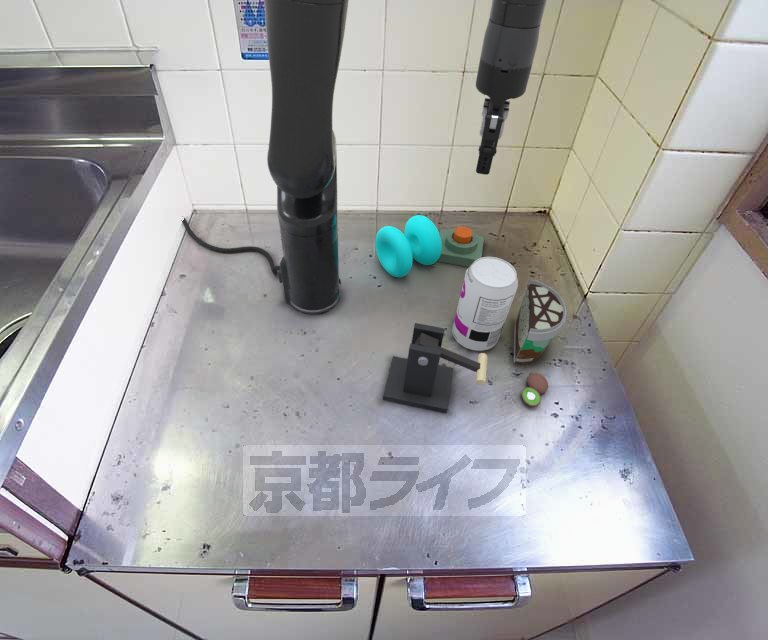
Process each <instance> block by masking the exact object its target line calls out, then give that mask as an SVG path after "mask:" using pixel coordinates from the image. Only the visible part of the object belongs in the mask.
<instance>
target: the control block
mask: <svg viewBox="0 0 768 640" xmlns="http://www.w3.org/2000/svg"><path fill="white" fill-rule="evenodd" d="M456 228H457V227H454V228H451V229H449V230H448V229H441V230H440V233H439V234H440V237H441V242H442V251H441V255H440V257H439V259H438V260H437V261H436V262H439V263H445V264H451V265H456V266H462V267H467V268H469V267H470V266H471V265H472V264H473V263H474V261H475V260H477V259H479V258H482V257H483V248H484V238H485V236H483V235H477V233H476V232H474V231H473V230H471V231H472V237H471V241H470V243H468V244H460V243H457V242H456V241H454V239H453V236H454V231H455V229H456Z"/></svg>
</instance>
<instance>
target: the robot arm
mask: <svg viewBox="0 0 768 640" xmlns="http://www.w3.org/2000/svg"><path fill="white" fill-rule="evenodd" d="M547 1H548V0H492V1H491V6H490V12H489V18H488V21H487V25H486V28H485V31H484V35H483V36H484V37H483V40H482V46H481V51H480V57H479V63H478V69H477V75H476V79H475V88H476V90H477V91H478V92H479V93H480V94H482V95H484V96H487V97H484V102H483V107H482V111H481V118H482V120H481V125H480V129H479V136H480V138H481V141H480V145H479V146H478V159H477V163H476V167H475V172H476V173H477V174H479V175H485V176H486V175H490V172H491V168H492V163H493V159H494V157H495V156H496V154H497V151H498V149H497V148H498V143H499V140H500V139H501V138H502V136H503V132H504V127H505V122H506V121H507V119H508V117H509V113H510V112H509V111H510V106H511V105H510V104H511V101H510V100H514V99H518V98H520V97H522V96H523V95H525V93H526V91H527V88H528V83H529V78H530V75H531V71H532V68H533V63H534V60H535V59H534V58H535V55H536V51H537V48H538V44H539V38H540V37H539V36H540V31H541V25H542V22H543V21H542V20H543V16H544V12H545V9H546V5H547ZM263 4H264V18H265V19H264V21H265V32H266V33H265V35H266V44H267V54H268V63H269V71H270V81H271V115H270V130H269V141H268V149H267V155H266V163H267V168H268V172H269V175H270V176H271V178H272V179H271V180H272V181H273V182H274V184H275V185H276V213H277V218H278V225H279V232H280V233H279V234H280V239H281V248H282V255H283V256H282V258H281V259H280V262H279V265H275V263H274V260H273V258H272V256H271V255H270V253H269V252H268V251H266V249H264V248H261V247H258V246H238V247H232V248H231V247H230V248H229V247H228V248H225V247H218V246H215V245H212V244H210V243H207V242H206V241H204V240H202V239H201V238H199V237H198V236H197V235H196V234H195V233H194V232H193V230H192V228H191V227H190V225H189V223H188V221H187V219H186V218H185V217H184V220H183V222H182V224H183V226H184V228H185V230H186V231H187V233H188V235H189V236H190V237H191V238H192V239H193V240H194V241H196V242H197V243H199V244H200V245H201V246H203V247H204V248H206V249H209V250H212V251H214V252H220V253H238V252H247V251H249V252H250V251H252V252H258V253H261V254H263V255H264V256H265V258H266V259H267V261H268V263H269V266H270V269H271V272H272V273H273V274H274V275H276V274H278V275H277V276H278V280H279V284H282V290H283V295H284V296H283V297H284V302H285V304H289V305H290V306H292V308H293V309H295V310H296V311H298V312H300V313H304V314H305V315H306V314H307V315H318V314H323V313H326V312H329V311H330V310H332V309H333V308H334V307H336V305H337V304H339V301H340V299H341V291H340V286H342V280H341V278H340V268H339V264H340V261H339V227H338V225H339V224H338V164H337V163H338V159H337V158H338V157H337V155H338V154H337V151H338V150H337V140H336V135H335V132H334V129H333V111H334V110H333V109H334V107H333V106H334V94H335V88H336V83H337V78H338V72H339V67H340V61H341V56H342V51H343V45H344V38H345V31H346V26H347V25H346V24H347V17H348V9H349V0H263Z"/></svg>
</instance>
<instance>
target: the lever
mask: <svg viewBox="0 0 768 640" xmlns="http://www.w3.org/2000/svg"><path fill="white" fill-rule="evenodd" d="M438 343H439V340H438V339H436V338H434V337H431V336H429V335H426V334H424V333H421V334H420V336H419V337H418V338H417V340H416V341H415V344H416V345H421V346H426V347H431V348H436V349H441V355H440V359H442V360H445V361H448V362H450V363H452V364H455V365H457V366H460V367H463V368H464V369H467V370H470V371H472V372H475V382H474V383H475V384H476V385H477V386H480V387H482V386H485V385H486V383H487V372H488V371H487V369H488V359H489V356H488V354H486V353H484V352H480V353H479V354H478V355H477V360H474V359H471V358H470V357H469V358H468V357H466V356H464V355H461V354H459V353H456V352H454V351H451V350H450V349H447V348H444V347H442V346H441V347H440V346H438Z"/></svg>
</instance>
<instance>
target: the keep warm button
mask: <svg viewBox="0 0 768 640" xmlns="http://www.w3.org/2000/svg"><path fill="white" fill-rule="evenodd" d="M455 228H456V229H455V231H454V236H453V239H454V241H456V242H457V243H460V244H468V243H470V241H471V237H472V231H473V230H472V229H470V228H469V227H466V226H457V227H455Z"/></svg>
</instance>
